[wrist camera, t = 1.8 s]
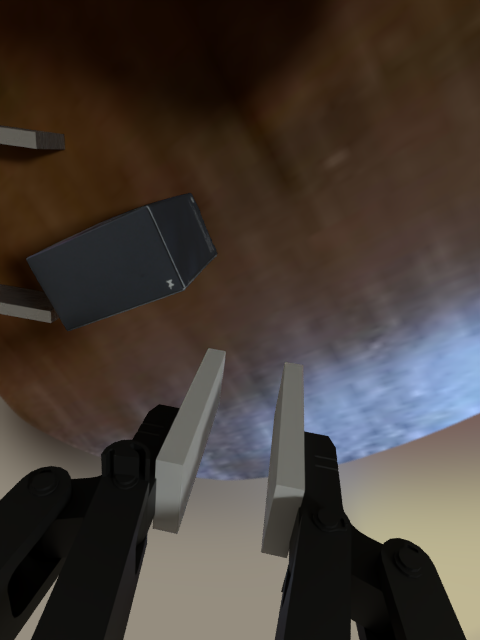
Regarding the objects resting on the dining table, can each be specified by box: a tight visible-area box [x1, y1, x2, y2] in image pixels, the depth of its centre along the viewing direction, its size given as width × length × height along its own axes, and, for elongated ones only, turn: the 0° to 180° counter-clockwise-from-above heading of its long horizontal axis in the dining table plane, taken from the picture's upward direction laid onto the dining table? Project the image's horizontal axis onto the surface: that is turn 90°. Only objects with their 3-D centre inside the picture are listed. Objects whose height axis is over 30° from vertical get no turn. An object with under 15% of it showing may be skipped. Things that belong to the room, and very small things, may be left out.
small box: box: [27, 193, 217, 331], centre depth 31 cm, size 11×6×10 cm, turn 112°
